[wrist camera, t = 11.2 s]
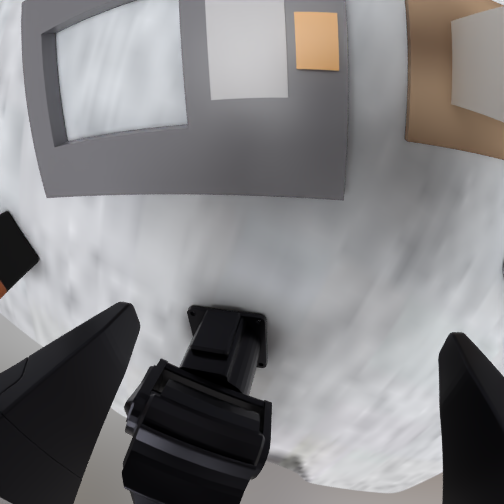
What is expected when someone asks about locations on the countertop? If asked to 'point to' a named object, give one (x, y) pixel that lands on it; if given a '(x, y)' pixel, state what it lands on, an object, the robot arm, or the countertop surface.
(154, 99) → the countertop surface
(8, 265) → the battery
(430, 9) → the rest pad
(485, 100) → the plug
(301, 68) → the grey square tray
